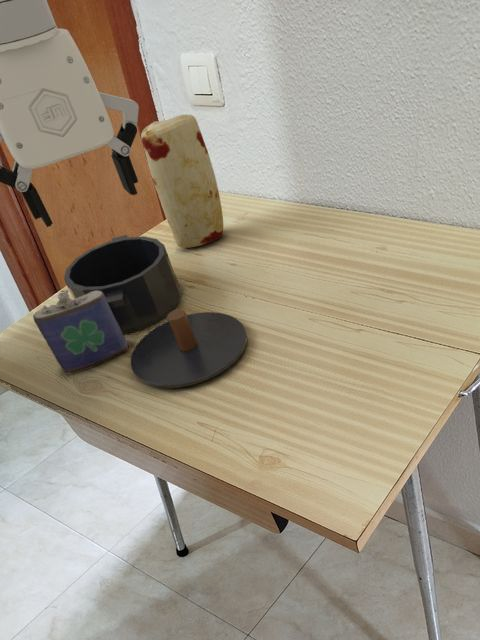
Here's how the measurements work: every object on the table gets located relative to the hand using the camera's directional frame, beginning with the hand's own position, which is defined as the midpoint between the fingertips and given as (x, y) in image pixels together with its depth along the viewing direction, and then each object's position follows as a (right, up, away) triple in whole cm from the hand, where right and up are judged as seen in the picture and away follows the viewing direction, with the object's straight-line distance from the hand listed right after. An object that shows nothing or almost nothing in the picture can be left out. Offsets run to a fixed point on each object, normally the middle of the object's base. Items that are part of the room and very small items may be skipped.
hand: (90, 206), depth 65 cm
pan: (-3, -6, +25) cm, 26 cm away
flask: (-5, -15, +16) cm, 23 cm away
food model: (+5, +8, +37) cm, 38 cm away
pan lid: (+8, -14, +13) cm, 21 cm away
